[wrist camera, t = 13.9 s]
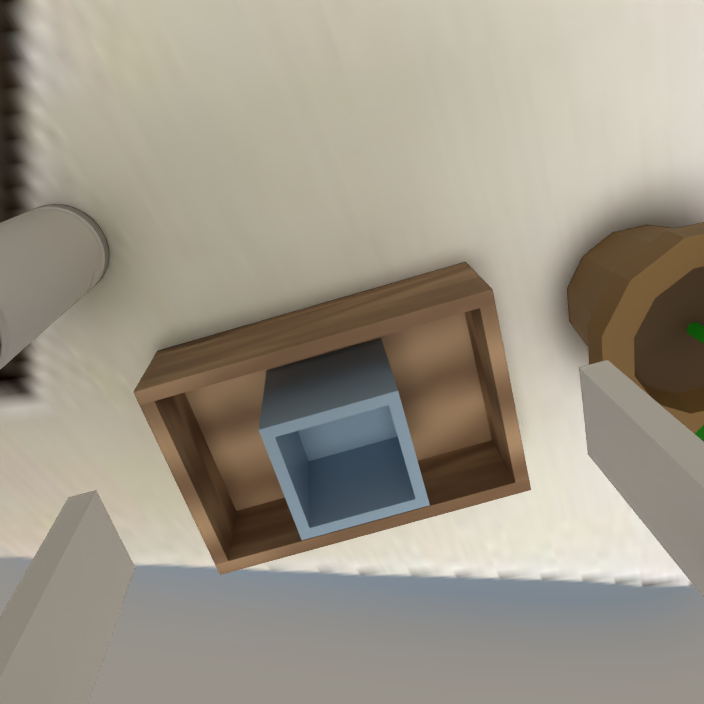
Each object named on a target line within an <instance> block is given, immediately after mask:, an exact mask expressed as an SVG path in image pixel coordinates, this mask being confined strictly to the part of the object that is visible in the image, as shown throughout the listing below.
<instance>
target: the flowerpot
mask: <svg viewBox="0 0 704 704" xmlns="http://www.w3.org/2000/svg"><path fill="white" fill-rule="evenodd" d="M567 295H568V310H569V321H570V323H571V324H572V326H573V327H574V328H575V330H576V331H577V332H578V334H579V335H580V337H581V338H582V339H583V341H584V342H585V344H586V345H587V346H588V350H589V365H590V364H594V363H598V362H602V361H606V360H608V361H609V362H611V363H612V364H613V365H614V366H615V367H616V368H618V369H619V370H620V371H621V372H622V373H624V374H625V375H626V376H627V377H628V378H629V379H631V380H632V381H633V382H634V383H635V384H636V385H638V386H639V387H640V388H641V389H642V390H643V391H645V392H646V393H647V394H648V395H649V396H650V397H652V398H653V399H654V400H655V401H656V402H658V403H659V404H660V405H661V406H662V407H663V408H665V409H666V410H667V411H668V412H669V413H670V414H672V415H673V416H674V417H675V418H676V419H677V420H679V421H680V422H681V423H682V424H683V425H684V426H686V427H687V428H688V429H689V430H690V431H692V432H693V433H694V434H695V435H696V436H697V437H699V438H700V439H701V440H702V441H703V442H704V222H702V223H697V224H693V225H688V226H684V227H679V228H668V227H660V226H652V225H645V226H640V227H635V228H631V229H626V230H622V231H617V232H613V233H611V234H610V235H609V236H607V237H606V238H605V239H604V240H602V241H601V242H600V243H599V244H597V245H596V246H595V247H594V248H592V249H591V250H590V251H589V252H588V253H586V254H585V255H584V256H583V257H582V259H581V261H580V263H579V265H578V267H577V269H576V271H575V273H574V276H573V278H572V280H571V282H570V284H569V286H568V288H567Z"/></svg>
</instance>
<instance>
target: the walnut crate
mask: <svg viewBox="0 0 704 704" xmlns="http://www.w3.org/2000/svg"><path fill="white" fill-rule="evenodd" d="M378 338H381V339H382V342H383V345H384V349H385V352H386V355H387V358H388V361H389V364H390V367H391V370H392V373H393V376H394V379H395V383H396V386H397V389H398V392H399V396H400V399H401V403H402V406H403V410H404V414H405V417H406V421H407V425H408V428H409V432H410V435H411V439H412V443H413V446H414V450H415V453H416V457H417V461H418V464H419V468H420V471H421V475H422V479H423V482H424V486H425V490H426V493H427V497H428V500H429V504H430V505H429V506H425V507H422V508H418V509H414V510H411V511H407V512H404V513H400V514H396V515H393V516H389V517H385V518H382V519H378V520H374V521H371V522H367V523H363V524H360V525H356V526H352V527H349V528H345V529H341V530H338V531H334V532H331V533H327V534H323V535H320V536H316V537H312V538H309V539H305V540H301V537H300V535H299V532H298V529H297V527H296V524H295V522H294V519H293V517H292V514H291V512H290V509H289V507H288V504H287V501H286V499H285V496H284V494H283V491H282V489H281V486H280V484H279V481H278V478H277V476H276V473H275V471H274V468H273V466H272V463H271V461H270V458H269V456H268V453H267V450H266V448H265V445H264V443H263V440H262V438H261V435H260V433H259V423H260V415H261V408H262V400H263V393H264V386H265V378H266V371H267V370H270V369H273V368H277V367H280V366H284V365H287V364H291V363H294V362H298V361H301V360H305V359H308V358H312V357H315V356H319V355H322V354H326V353H329V352H333V351H336V350H340V349H343V348H347V347H350V346H354V345H357V344H361V343H364V342H368V341H371V340H375V339H378ZM134 394H135V396H136V398H137V401H138V403H139V405H140V407H141V409H142V411H143V413H144V415H145V417H146V420H147V422H148V424H149V426H150V428H151V430H152V432H153V434H154V436H155V438H156V441H157V443H158V445H159V447H160V449H161V451H162V453H163V455H164V457H165V460H166V462H167V464H168V466H169V468H170V470H171V472H172V474H173V476H174V479H175V481H176V483H177V485H178V487H179V489H180V491H181V493H182V495H183V498H184V500H185V502H186V504H187V506H188V508H189V510H190V512H191V514H192V517H193V519H194V521H195V523H196V525H197V527H198V529H199V531H200V533H201V535H202V538H203V540H204V542H205V544H206V546H207V548H208V550H209V552H210V554H211V557H212V559H213V561H214V563H215V565H216V567H217V569H218V571H219V573H220V575H221V574H225V573H228V572H232V571H236V570H239V569H243V568H247V567H250V566H254V565H258V564H261V563H265V562H269V561H272V560H276V559H280V558H283V557H287V556H291V555H294V554H298V553H302V552H305V551H309V550H313V549H316V548H320V547H324V546H327V545H331V544H335V543H338V542H342V541H346V540H349V539H353V538H357V537H360V536H364V535H368V534H371V533H375V532H379V531H382V530H386V529H389V528H393V527H397V526H400V525H404V524H408V523H411V522H415V521H419V520H422V519H426V518H430V517H433V516H437V515H441V514H444V513H448V512H452V511H455V510H459V509H463V508H466V507H470V506H474V505H477V504H481V503H485V502H488V501H492V500H496V499H499V498H503V497H507V496H510V495H514V494H518V493H521V492H525V491H529V490H531V487H530V482H529V477H528V472H527V467H526V461H525V456H524V451H523V446H522V441H521V435H520V430H519V425H518V420H517V415H516V409H515V404H514V399H513V394H512V389H511V383H510V378H509V373H508V368H507V363H506V357H505V352H504V347H503V342H502V337H501V331H500V326H499V321H498V316H497V311H496V305H495V300H494V295H493V290H492V288H491V287H490V286H489V285H488V284H487V283H486V282H485V281H484V280H483V279H482V278H481V277H480V276H479V275H478V274H477V273H476V272H475V271H474V270H473V269H472V268H471V267H470V266H469V265H468V264H467V263H466V262H464V263H460V264H457V265H453V266H450V267H446V268H443V269H439V270H436V271H432V272H429V273H426V274H422V275H419V276H415V277H412V278H408V279H405V280H401V281H398V282H394V283H391V284H387V285H384V286H381V287H377V288H374V289H370V290H367V291H363V292H360V293H356V294H353V295H349V296H346V297H342V298H339V299H336V300H332V301H329V302H325V303H322V304H318V305H315V306H311V307H308V308H304V309H301V310H298V311H294V312H291V313H287V314H284V315H280V316H277V317H273V318H270V319H266V320H263V321H259V322H256V323H253V324H249V325H246V326H242V327H239V328H235V329H232V330H228V331H225V332H221V333H218V334H214V335H211V336H208V337H204V338H201V339H197V340H194V341H190V342H187V343H183V344H180V345H176V346H173V347H170V348H166V349H163V350H159V351H157V353H156V354H155V356H154V358H153V359H152V361H151V363H150V365H149V366H148V368H147V370H146V372H145V373H144V375H143V377H142V378H141V380H140V382H139V384H138V385H137V387H136V389H135V391H134Z"/></svg>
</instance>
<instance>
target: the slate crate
mask: <svg viewBox="0 0 704 704" xmlns="http://www.w3.org/2000/svg"><path fill="white" fill-rule="evenodd" d="M259 433H260V435H261V438H262V440H263V443H264V445H265V448H266V450H267V453H268V456H269V458H270V461H271V463H272V466H273V468H274V471H275V473H276V476H277V478H278V481H279V484H280V486H281V489H282V491H283V494H284V496H285V499H286V501H287V504H288V507H289V509H290V512H291V514H292V517H293V519H294V522H295V524H296V527H297V529H298V532H299V535H300V537H301V540H305V539H309V538H312V537H316V536H320V535H323V534H327V533H331V532H334V531H338V530H341V529H345V528H349V527H352V526H356V525H360V524H363V523H367V522H371V521H374V520H378V519H382V518H385V517H389V516H393V515H396V514H400V513H404V512H407V511H411V510H414V509H418V508H422V507H425V506H429V505H430V504H429V500H428V497H427V493H426V490H425V486H424V482H423V479H422V475H421V471H420V468H419V464H418V461H417V457H416V453H415V450H414V446H413V443H412V439H411V435H410V432H409V428H408V425H407V421H406V417H405V414H404V410H403V406H402V403H401V399H400V396H399V392H398V389H397V386H396V383H395V379H394V376H393V373H392V370H391V367H390V364H389V361H388V358H387V355H386V352H385V349H384V345H383V342H382V339H381V338H378V339H375V340H371V341H368V342H364V343H361V344H357V345H354V346H350V347H347V348H343V349H340V350H336V351H333V352H329V353H326V354H322V355H319V356H315V357H312V358H308V359H305V360H301V361H298V362H294V363H291V364H287V365H284V366H280V367H277V368H273V369H270V370H267V371H266V378H265V386H264V393H263V400H262V408H261V415H260V423H259Z"/></svg>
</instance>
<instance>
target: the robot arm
mask: <svg viewBox="0 0 704 704" xmlns="http://www.w3.org/2000/svg"><path fill="white" fill-rule="evenodd" d="M579 372H580V382H581V392H582V401H583V411H584V421H585V430H586V440H587V450H588V455H589V456H590V457H591V459H592V460H593V461H594V462H595V464H596V465H597V466H598V467H599V468H600V470H601V471H602V472H603V473H604V475H605V476H606V477H607V478H608V480H609V481H610V482H611V483H612V485H613V486H614V487H615V488H616V489H617V491H618V492H619V493H620V494H621V496H622V497H623V498H624V499H625V501H626V502H627V503H628V504H629V506H630V507H631V508H632V509H633V511H634V512H635V513H636V514H637V515H638V517H639V518H640V519H641V520H642V522H643V523H644V524H645V525H646V527H647V528H648V529H649V530H650V532H651V533H652V534H653V535H654V536H655V538H656V539H657V540H658V541H659V543H660V544H661V545H662V546H663V548H664V549H665V550H666V551H667V553H668V554H669V555H670V556H671V558H672V559H673V560H674V561H675V562H676V564H677V565H678V566H679V567H680V569H681V570H682V571H683V572H684V574H685V575H686V576H687V577H688V579H689V580H690V581H691V582H692V583H693V585H694V586H695V587H696V588H697V590H698V591H699V592H700V593H701V595H702V596H703V597H704V442H703V441H702V440H701V439H700V438H699V437H697V436H696V435H695V434H694V433H693V432H692V431H690V430H689V429H688V428H687V427H686V426H684V425H683V424H682V423H681V422H680V421H679V420H677V419H676V418H675V417H674V416H673V415H672V414H670V413H669V412H668V411H667V410H666V409H665V408H663V407H662V406H661V405H660V404H659V403H658V402H656V401H655V400H654V399H653V398H652V397H650V396H649V395H648V394H647V393H646V392H645V391H643V390H642V389H641V388H640V387H639V386H638V385H636V384H635V383H634V382H633V381H632V380H631V379H629V378H628V377H627V376H626V375H625V374H624V373H622V372H621V371H620V370H619V369H618V368H616V367H615V366H614V365H613V364H612V363H611V362H609V361H608V360H606V361H602V362H598V363H594V364H590V365H586V366H582V367H579ZM134 571H135V566H134V564H133V562H132V560H131V558H130V556H129V554H128V552H127V550H126V548H125V546H124V544H123V542H122V540H121V539H120V537H119V535H118V533H117V531H116V529H115V527H114V525H113V523H112V521H111V519H110V517H109V515H108V513H107V511H106V509H105V507H104V505H103V503H102V501H101V499H100V497H99V495H98V493H97V491H92V492H88V493H84V494H80V495H76V496H72V497H69V498H68V499H67V501H66V503H65V505H64V506H63V508H62V510H61V512H60V513H59V515H58V517H57V518H56V520H55V522H54V524H53V525H52V527H51V529H50V531H49V532H48V534H47V536H46V538H45V539H44V541H43V543H42V545H41V546H40V548H39V550H38V552H37V553H36V555H35V557H34V559H33V560H32V562H31V564H30V566H29V567H28V569H27V571H26V572H25V574H24V576H23V578H22V579H21V581H20V583H19V585H18V586H17V588H16V590H15V592H14V593H13V595H12V597H11V599H10V600H9V602H8V604H7V605H6V608H5V609H4V611H3V612H2V614H1V616H0V704H88V703H89V700H90V698H91V695H92V692H93V689H94V686H95V683H96V680H97V678H98V675H99V672H100V669H101V666H102V663H103V660H104V657H105V654H106V652H107V649H108V646H109V643H110V640H111V637H112V634H113V631H114V628H115V626H116V623H117V620H118V617H119V614H120V611H121V608H122V605H123V603H124V600H125V597H126V594H127V591H128V588H129V585H130V582H131V580H132V577H133V574H134Z"/></svg>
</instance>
